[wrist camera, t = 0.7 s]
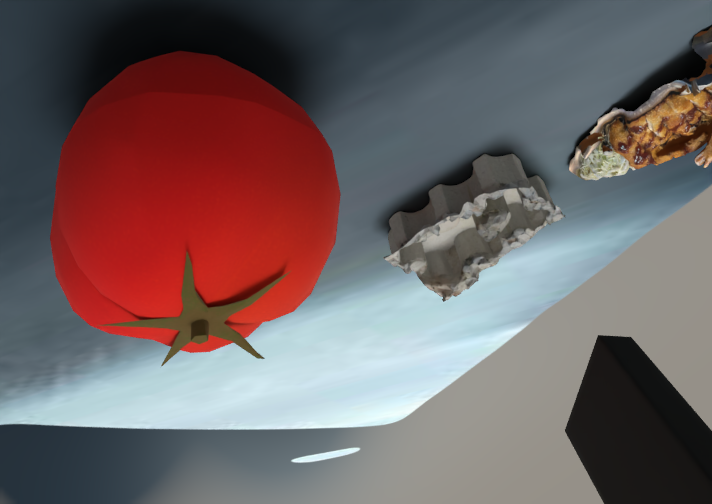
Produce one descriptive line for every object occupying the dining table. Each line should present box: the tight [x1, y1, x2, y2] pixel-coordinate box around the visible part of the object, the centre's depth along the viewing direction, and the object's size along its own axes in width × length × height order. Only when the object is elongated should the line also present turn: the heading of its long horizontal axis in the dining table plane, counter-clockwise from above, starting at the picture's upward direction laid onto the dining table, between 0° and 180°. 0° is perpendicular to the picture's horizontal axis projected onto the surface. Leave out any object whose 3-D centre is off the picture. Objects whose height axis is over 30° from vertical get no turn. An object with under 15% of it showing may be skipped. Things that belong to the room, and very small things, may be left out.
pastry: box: [569, 27, 712, 180], centre depth 33 cm, size 7×12×4 cm, turn 146°
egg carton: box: [384, 154, 565, 302], centre depth 38 cm, size 11×8×4 cm
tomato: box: [50, 51, 340, 366], centre depth 25 cm, size 12×12×13 cm
